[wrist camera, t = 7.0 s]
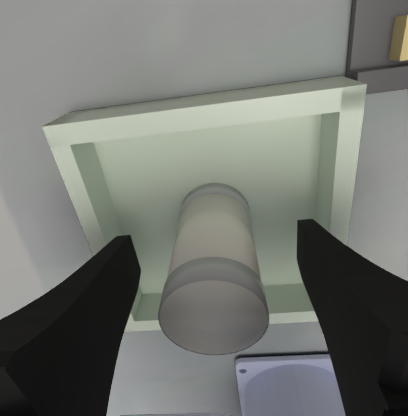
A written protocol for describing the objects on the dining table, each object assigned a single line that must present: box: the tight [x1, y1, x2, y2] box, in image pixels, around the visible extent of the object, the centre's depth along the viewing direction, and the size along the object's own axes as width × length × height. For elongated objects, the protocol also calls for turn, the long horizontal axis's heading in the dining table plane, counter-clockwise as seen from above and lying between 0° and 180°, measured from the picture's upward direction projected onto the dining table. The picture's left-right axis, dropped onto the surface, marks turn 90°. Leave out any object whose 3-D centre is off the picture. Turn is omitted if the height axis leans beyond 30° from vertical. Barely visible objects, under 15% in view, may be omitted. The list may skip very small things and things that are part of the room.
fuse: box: [158, 183, 269, 355], centre depth 12 cm, size 4×4×6 cm
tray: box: [42, 76, 367, 332], centre depth 15 cm, size 12×12×2 cm
